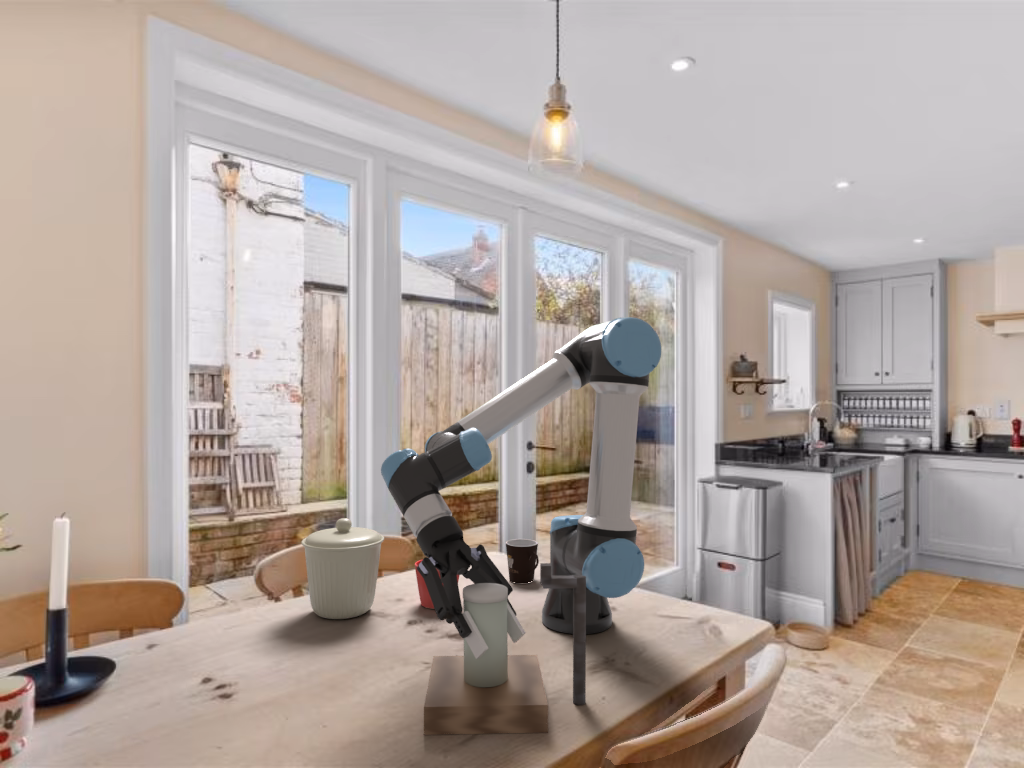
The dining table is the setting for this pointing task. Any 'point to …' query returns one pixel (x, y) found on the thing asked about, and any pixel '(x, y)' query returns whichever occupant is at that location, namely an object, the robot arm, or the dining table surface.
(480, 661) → the domed lid bottle
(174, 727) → the dining table surface
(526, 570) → the coffee mug
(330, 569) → the canister
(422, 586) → the flower pot
